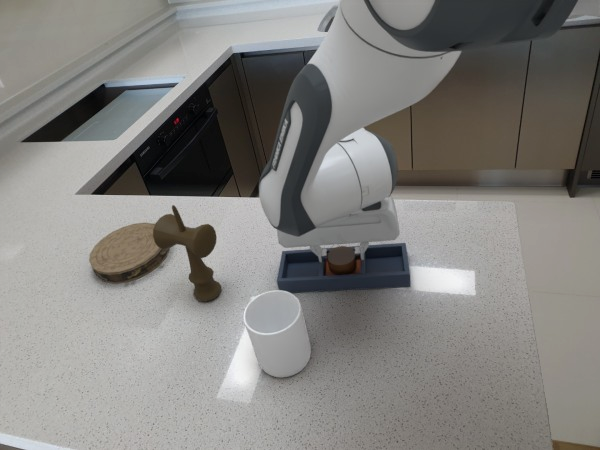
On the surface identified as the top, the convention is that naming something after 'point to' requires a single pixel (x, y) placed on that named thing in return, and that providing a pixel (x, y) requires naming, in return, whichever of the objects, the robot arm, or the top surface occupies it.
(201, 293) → the kendama
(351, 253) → the cylinder
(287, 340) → the mug
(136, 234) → the wood slice coaster
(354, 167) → the robot arm
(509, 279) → the top surface
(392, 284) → the grid
